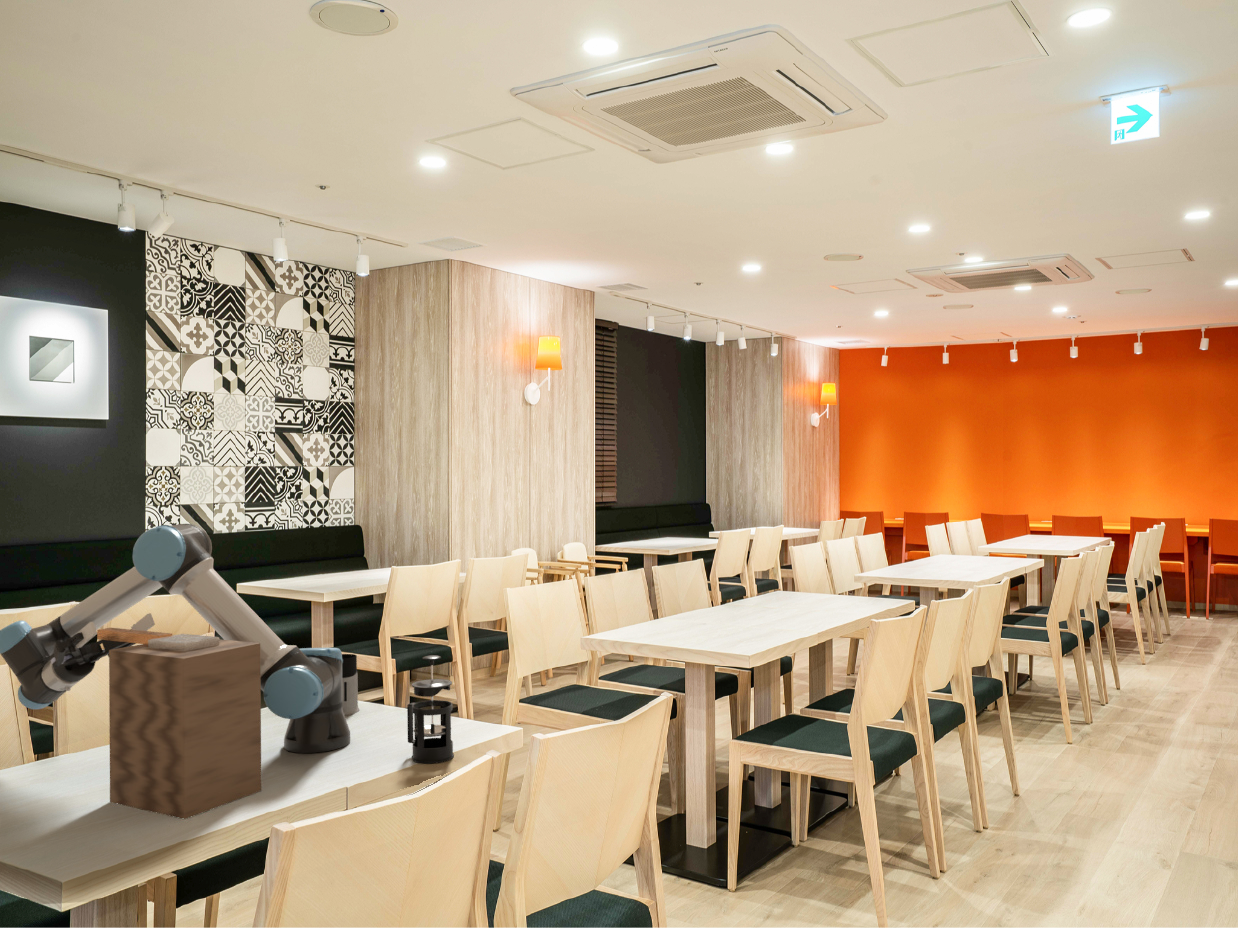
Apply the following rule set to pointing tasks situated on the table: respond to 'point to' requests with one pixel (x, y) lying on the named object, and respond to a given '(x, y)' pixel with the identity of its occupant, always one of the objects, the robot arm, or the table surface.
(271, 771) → the table surface
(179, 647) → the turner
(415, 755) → the french press
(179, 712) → the walnut stand
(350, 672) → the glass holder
